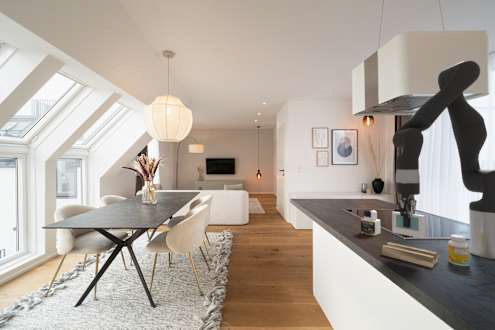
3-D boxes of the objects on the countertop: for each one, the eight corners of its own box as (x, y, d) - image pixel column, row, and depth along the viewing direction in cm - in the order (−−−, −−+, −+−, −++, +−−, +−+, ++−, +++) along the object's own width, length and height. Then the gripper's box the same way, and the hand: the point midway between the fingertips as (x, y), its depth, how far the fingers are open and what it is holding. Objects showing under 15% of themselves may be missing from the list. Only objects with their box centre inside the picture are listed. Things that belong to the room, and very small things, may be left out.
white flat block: (394, 231, 93) (394, 211, 93) (424, 237, 85) (424, 215, 85) (392, 232, 91) (392, 212, 91) (423, 238, 84) (423, 216, 84)
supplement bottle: (448, 259, 86) (447, 233, 87) (468, 262, 83) (467, 235, 83) (448, 263, 82) (448, 236, 82) (469, 267, 79) (469, 239, 79)
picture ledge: (389, 249, 97) (389, 241, 97) (437, 261, 84) (437, 252, 85) (381, 254, 92) (381, 246, 92) (432, 267, 79) (432, 258, 79)
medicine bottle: (360, 233, 121) (360, 210, 121) (366, 230, 125) (366, 208, 126) (375, 236, 115) (374, 212, 115) (380, 233, 120) (380, 210, 120)
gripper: (402, 180, 95) (402, 222, 95) (389, 181, 87) (390, 228, 86) (424, 181, 90) (424, 225, 90) (413, 182, 81) (414, 232, 81)
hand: (407, 226), depth 88 cm, fingers closed on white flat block, 2 cm apart
